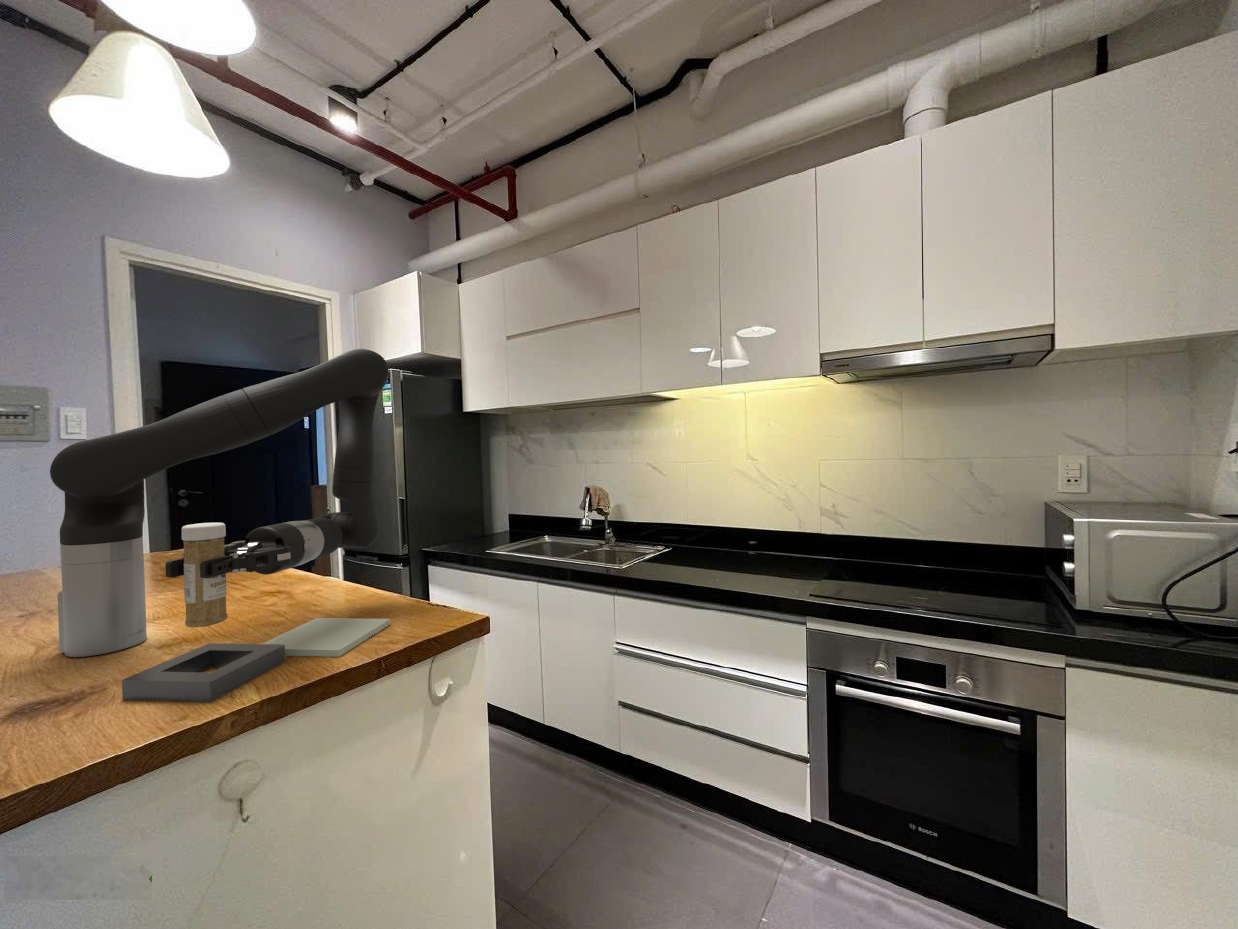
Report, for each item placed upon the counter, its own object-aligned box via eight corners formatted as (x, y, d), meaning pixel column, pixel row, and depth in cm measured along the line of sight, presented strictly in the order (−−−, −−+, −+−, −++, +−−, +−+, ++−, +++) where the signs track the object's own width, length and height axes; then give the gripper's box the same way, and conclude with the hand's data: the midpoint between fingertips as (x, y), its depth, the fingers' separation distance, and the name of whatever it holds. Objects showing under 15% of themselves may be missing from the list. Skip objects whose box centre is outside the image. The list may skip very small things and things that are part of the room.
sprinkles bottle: (226, 624, 66) (223, 524, 66) (181, 631, 64) (178, 527, 64) (229, 615, 70) (227, 520, 70) (187, 621, 68) (184, 523, 67)
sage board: (252, 655, 75) (252, 648, 75) (316, 623, 89) (316, 618, 89) (339, 656, 74) (338, 650, 74) (390, 624, 88) (390, 619, 88)
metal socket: (122, 699, 62) (121, 679, 62) (210, 659, 74) (209, 643, 74) (210, 702, 61) (210, 682, 61) (285, 661, 73) (284, 644, 73)
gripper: (244, 522, 82) (134, 541, 65) (326, 523, 80) (235, 542, 63) (245, 567, 82) (136, 597, 65) (327, 569, 81) (236, 600, 64)
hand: (186, 570), depth 64 cm, fingers closed on sprinkles bottle, 4 cm apart
